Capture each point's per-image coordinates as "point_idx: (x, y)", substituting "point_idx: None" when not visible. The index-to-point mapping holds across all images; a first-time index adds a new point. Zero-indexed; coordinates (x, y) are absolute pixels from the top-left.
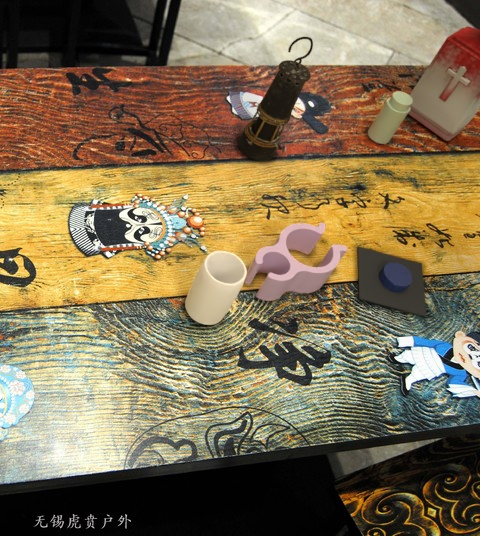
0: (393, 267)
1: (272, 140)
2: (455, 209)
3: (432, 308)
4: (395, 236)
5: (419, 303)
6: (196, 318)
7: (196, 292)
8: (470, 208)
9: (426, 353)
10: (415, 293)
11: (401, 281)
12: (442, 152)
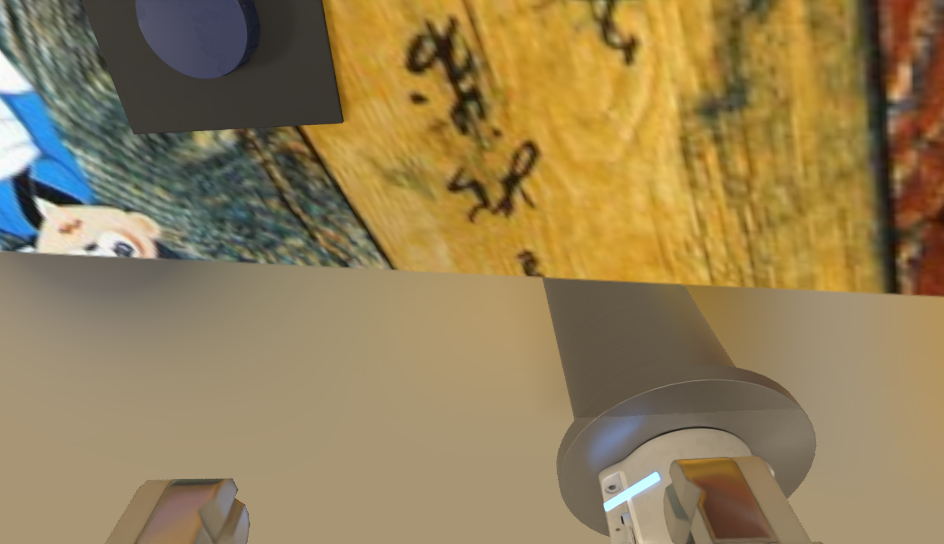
0: (213, 3)
1: None
2: (627, 233)
3: (186, 154)
4: (430, 30)
5: (167, 112)
6: None
7: None
8: (643, 274)
9: (4, 132)
10: (201, 100)
11: (165, 36)
12: (889, 204)
